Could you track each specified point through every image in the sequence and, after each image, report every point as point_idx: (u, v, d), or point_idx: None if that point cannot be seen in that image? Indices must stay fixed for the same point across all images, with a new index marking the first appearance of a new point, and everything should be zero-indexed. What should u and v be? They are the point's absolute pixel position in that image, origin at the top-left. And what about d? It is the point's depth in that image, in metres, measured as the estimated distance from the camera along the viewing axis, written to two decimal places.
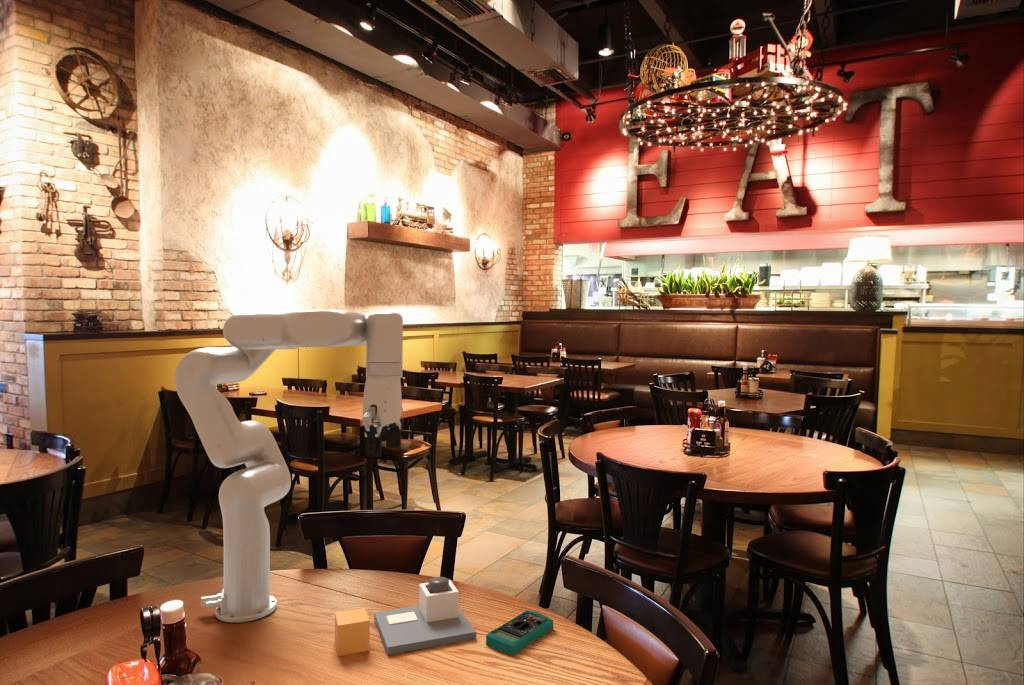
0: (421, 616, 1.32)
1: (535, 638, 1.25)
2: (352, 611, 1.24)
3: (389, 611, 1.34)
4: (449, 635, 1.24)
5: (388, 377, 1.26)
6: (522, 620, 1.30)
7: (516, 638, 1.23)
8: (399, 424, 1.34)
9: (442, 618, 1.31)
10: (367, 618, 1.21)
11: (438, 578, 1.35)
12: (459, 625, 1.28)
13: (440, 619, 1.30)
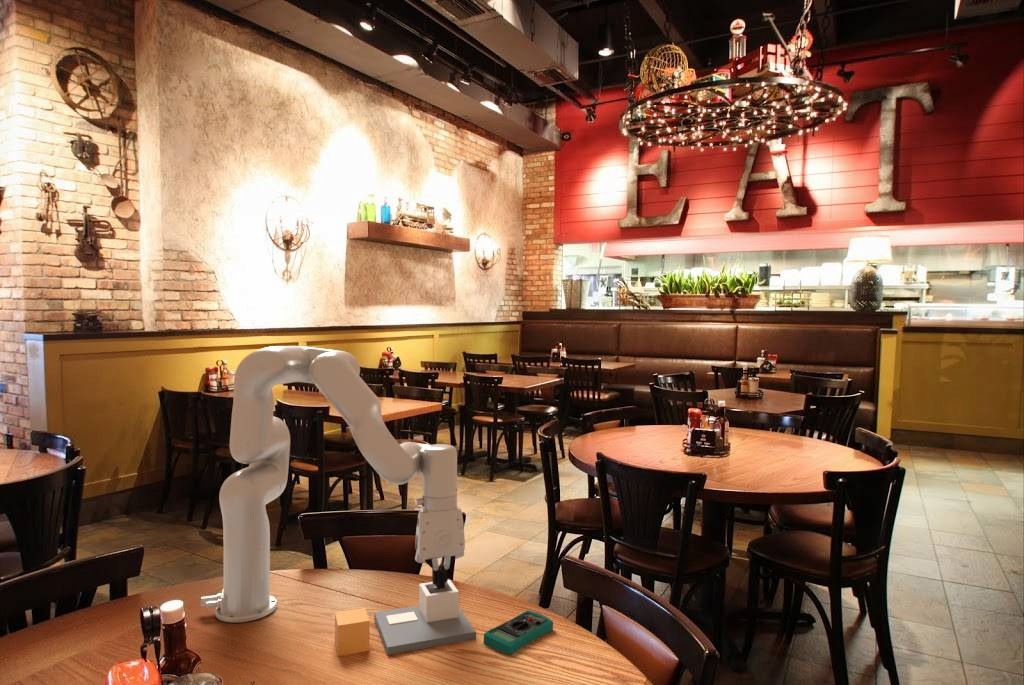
0: (421, 616, 1.32)
1: (533, 639, 1.25)
2: (352, 611, 1.24)
3: (389, 611, 1.34)
4: (449, 635, 1.24)
5: None
6: (522, 620, 1.30)
7: (513, 638, 1.23)
8: None
9: (442, 618, 1.31)
10: (367, 618, 1.21)
11: None
12: (459, 625, 1.28)
13: (440, 619, 1.30)
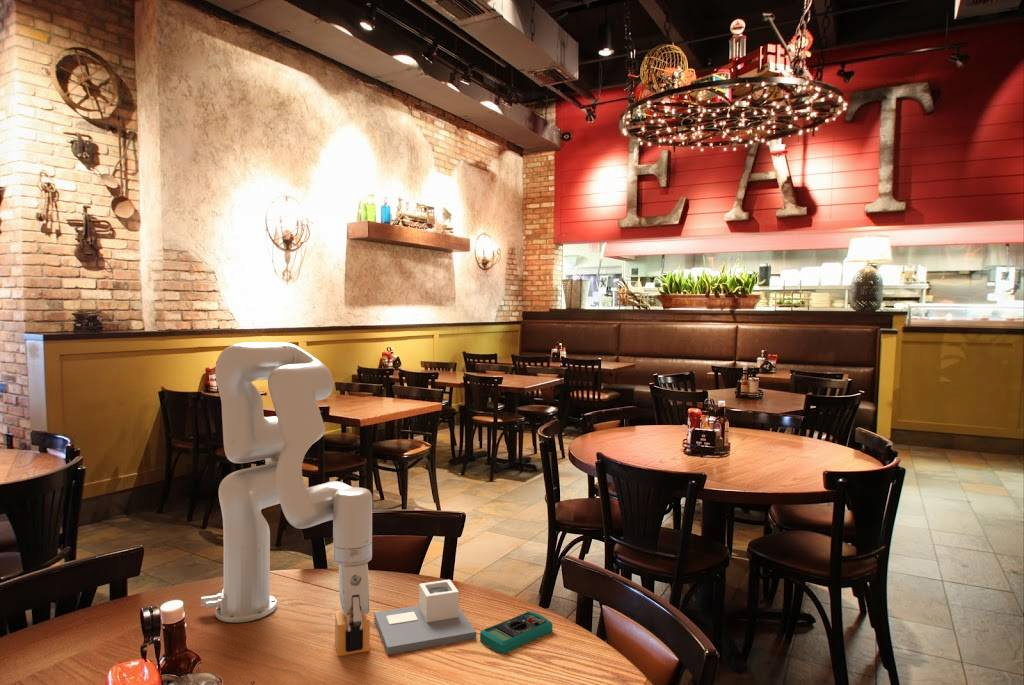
0: (421, 616, 1.32)
1: (530, 639, 1.25)
2: (352, 611, 1.24)
3: (389, 611, 1.34)
4: (449, 635, 1.24)
5: None
6: (521, 620, 1.29)
7: (508, 637, 1.23)
8: (347, 625, 1.18)
9: (442, 618, 1.31)
10: (367, 618, 1.21)
11: (438, 589, 1.35)
12: (459, 625, 1.28)
13: (440, 619, 1.30)
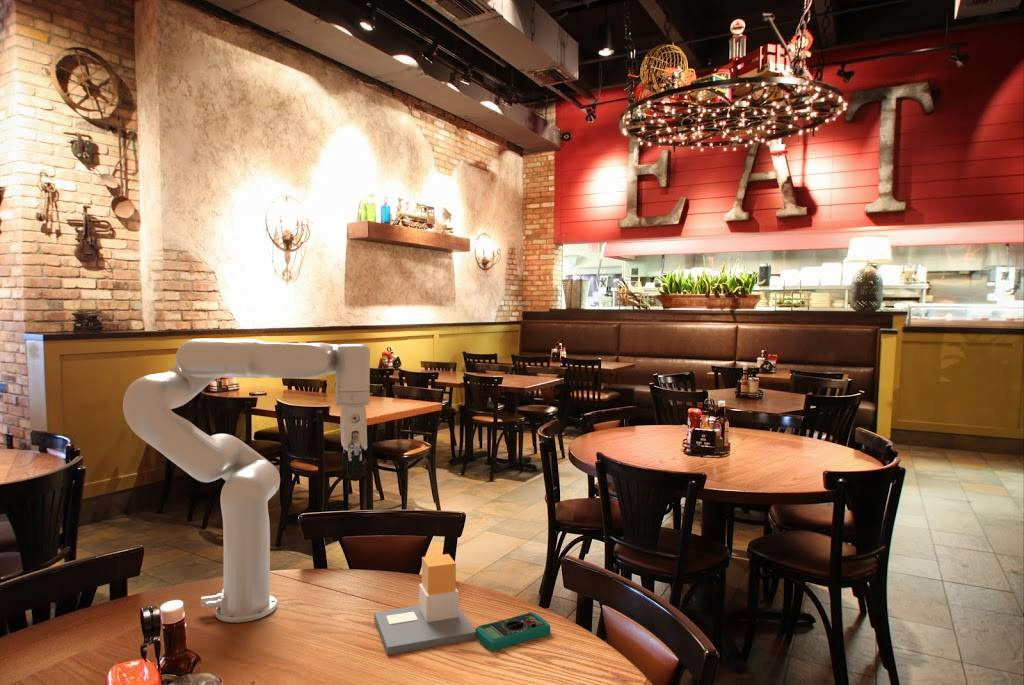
0: (421, 616, 1.32)
1: (523, 640, 1.24)
2: (437, 556, 1.36)
3: (389, 611, 1.34)
4: (449, 635, 1.24)
5: None
6: (519, 620, 1.29)
7: (501, 636, 1.23)
8: (348, 455, 1.34)
9: (442, 618, 1.31)
10: (453, 561, 1.33)
11: None
12: (459, 625, 1.28)
13: (440, 619, 1.30)
